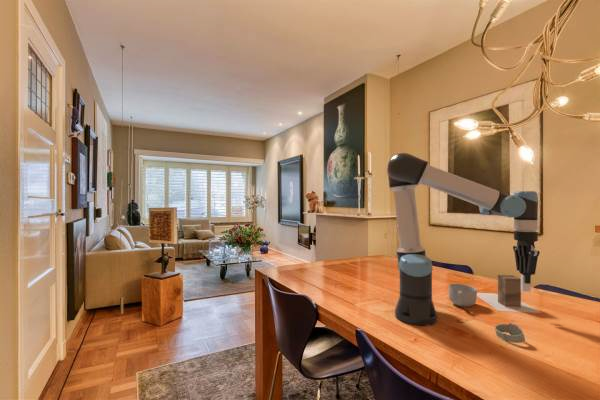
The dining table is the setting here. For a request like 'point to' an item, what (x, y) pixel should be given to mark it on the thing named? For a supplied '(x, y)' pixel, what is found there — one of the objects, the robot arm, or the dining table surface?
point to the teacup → (462, 294)
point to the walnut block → (509, 291)
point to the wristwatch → (512, 329)
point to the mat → (493, 301)
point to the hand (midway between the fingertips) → (525, 290)
